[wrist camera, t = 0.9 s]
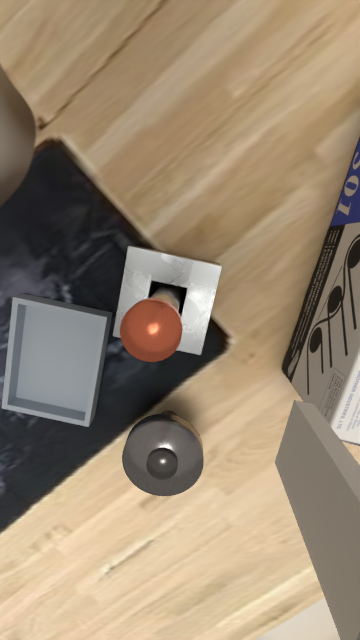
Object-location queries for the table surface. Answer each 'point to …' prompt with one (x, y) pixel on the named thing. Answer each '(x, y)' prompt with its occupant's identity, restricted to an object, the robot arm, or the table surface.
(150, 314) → the pin
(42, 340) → the tray
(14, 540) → the table surface
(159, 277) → the block
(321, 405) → the ink box
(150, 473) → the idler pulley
